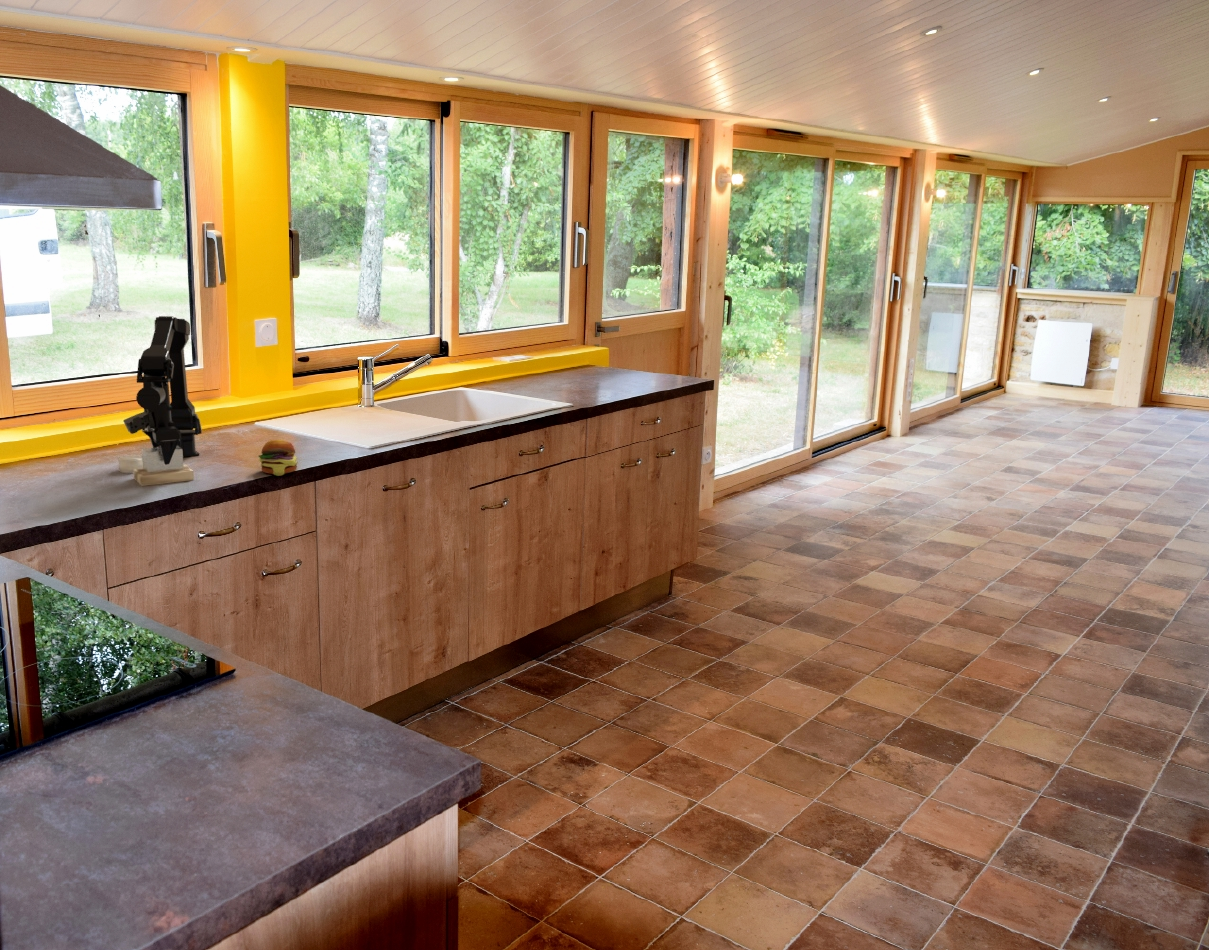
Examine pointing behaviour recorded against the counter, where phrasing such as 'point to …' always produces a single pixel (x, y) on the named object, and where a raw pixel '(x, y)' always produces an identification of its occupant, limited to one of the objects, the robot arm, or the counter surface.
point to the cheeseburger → (278, 457)
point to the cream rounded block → (130, 463)
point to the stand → (163, 476)
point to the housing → (161, 460)
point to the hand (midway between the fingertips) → (162, 460)
